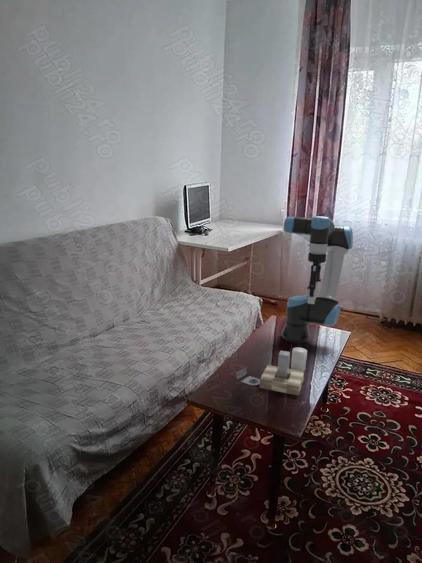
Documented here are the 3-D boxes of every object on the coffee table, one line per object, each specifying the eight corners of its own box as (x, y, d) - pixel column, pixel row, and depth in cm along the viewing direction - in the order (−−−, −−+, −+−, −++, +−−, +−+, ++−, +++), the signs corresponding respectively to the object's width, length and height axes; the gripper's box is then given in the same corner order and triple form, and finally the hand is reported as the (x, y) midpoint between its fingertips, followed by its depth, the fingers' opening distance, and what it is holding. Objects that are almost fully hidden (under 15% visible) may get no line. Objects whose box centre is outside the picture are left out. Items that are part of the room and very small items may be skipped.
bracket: (255, 388, 171) (255, 381, 170) (236, 380, 178) (236, 372, 177) (264, 383, 176) (264, 375, 175) (245, 375, 182) (245, 367, 181)
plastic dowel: (291, 364, 193) (293, 346, 191) (305, 366, 191) (307, 348, 189) (289, 370, 187) (291, 351, 185) (304, 373, 185) (306, 354, 183)
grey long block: (278, 380, 177) (280, 350, 174) (287, 382, 176) (290, 352, 173) (276, 384, 174) (278, 354, 170) (285, 386, 172) (288, 355, 169)
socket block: (267, 373, 184) (267, 364, 183) (303, 380, 179) (304, 371, 178) (259, 387, 171) (260, 378, 170) (298, 395, 166) (299, 386, 165)
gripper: (312, 247, 193) (308, 291, 198) (304, 256, 170) (300, 306, 175) (329, 248, 190) (324, 293, 195) (323, 258, 167) (318, 308, 173)
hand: (312, 299), depth 185 cm, fingers open, 13 cm apart
